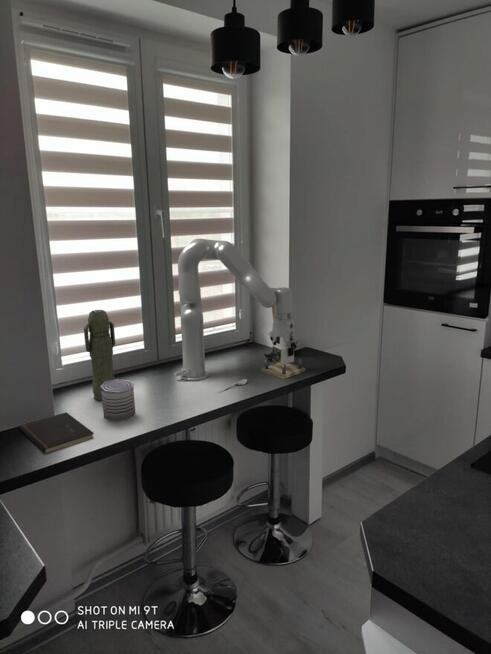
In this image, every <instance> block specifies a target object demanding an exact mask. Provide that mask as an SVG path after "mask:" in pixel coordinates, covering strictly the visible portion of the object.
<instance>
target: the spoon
mask: <svg viewBox="0 0 491 654" xmlns="http://www.w3.org/2000/svg"><path fill="white" fill-rule="evenodd" d="M247 383H248V379H247V378H244V379H241V380H238V381H236V382H234V383H231V384H229V385H227V386H225V387H223V388H222V389H219V390H217V391H216V392H215V394H220V393H222V392H225V390H227V389H228V388H229V389H230V388H231V387H232V386H234V385H238V386H244V385H245V384H247Z"/></svg>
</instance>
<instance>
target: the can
mask: <svg viewBox="0 0 491 654" xmlns="http://www.w3.org/2000/svg"><path fill="white" fill-rule="evenodd" d="M134 386H135V384H134V383H133V382H131V380H129V379H128V380H127V379H120V378H119V379H118V378H115V380H110V381H105V382H104V383H103V384H102V385H101V386H100V387H101V388H102V389H101V392H102V401H101V402H102V410H103V411H102V413H103V419H104V420H106V421H108V422H115V423H116V422H117V423H119V422H124V421H129V420H130V419H133V418H134V417H135V414H136V405H135V404H136V403H135V390H134Z"/></svg>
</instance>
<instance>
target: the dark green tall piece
mask: <svg viewBox="0 0 491 654" xmlns="http://www.w3.org/2000/svg"><path fill="white" fill-rule="evenodd" d="M83 335H84V336H83V337H84V345H85V351H86V352H87V353H89V357H90V360H91V368H92V370H91V371H92V385H91V386H92V393H93V399H94V400H95V401H97V402H102V392H101V389H102V388H101V387H100V386H101V385H102V384H103V383H104V382H105V381H110V380H115V379H116V377H115V375H114V363H113V355H114V350H113V348H114V347H115V346H116V337H115V336H116V335H115V325H114V323H113V322H112V321H111V320H109V315H108V313H107V311H106V310H104V309H95V310H92V311H90V312H89V315H88V318H87V323H86V324H85V326H84V328H83Z"/></svg>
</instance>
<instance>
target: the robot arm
mask: <svg viewBox="0 0 491 654" xmlns="http://www.w3.org/2000/svg"><path fill="white" fill-rule="evenodd" d="M202 260H217V261H220V262H221V263H222V264H223V266H224V267H226V269H227V270H228V271H229V272H230V274H231V275H232V276H233V277H234V278H235V279H236V280H237V281H238V282H239V283H240V285H242V286H243V287H244V288H245V289H246V290H247V291H248V292H249V293H250V294H251V295H252V297H254V298H255V300H256V301H257V302H258V303H259V304H260V306H262V307H263V308H267V309H270V308H272V307H273V306H274V305H275V318H274V321H273V323H272V331H270V332H268V336H269V339H270V341H271V343H272V346H273V345H277V344H276V337H282V338H283V339H284V342H287V344H288V346H289V348H288V356H292V355H294V356H295V349H294V347H295V345H296V346H297V343H298V342H299V338H298V337H297V336H296V328H295V322H294V319H293V317H294V315H293V314H292V313H293V312H292V311H293V310H292V308H293V307H292V304H293V303H292V301H293V296H292V295H293V294H292V293H293V292H292V291H293V290H292V289H291V288H289V287H276V288H275V287H270V286H269V285H268V283H266V281H264V279H263V278H262V277H261V275H259V274H258V272H257V270H256V269H255V268H254V266H252V264H251V263H249V261H248V260H247V258H245V257H244V255H242V253H241V251H239V250H238V249H237V247H236V246H235V245H234V244H233V243H231V242H230V241H228V240H216V239H208V238H195V239H193V240H192V241H190V243H189V244H188V245H186V246H185V247H184V248H183V249H182V251H181V252H180V254H179V256H178V261H177V276H178V277H177V278H178V295H179V306H180V332H181V345H182V346H181V347H182V367H181V369H180V370H178V371H175V372H174V373H173V375H174V377H180V379H181V380H184V381H190V382H191V381H193V382H194V381H202V380H205V379H207V378H208V377H209V375H210V373H209V372H208V370H206V364H205V361H206V360H205V337H204V314H203V307H202V295H201V292H202V291H201V285H200V280H199V264H200V263H201V261H202ZM290 342H291V344H290Z"/></svg>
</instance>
